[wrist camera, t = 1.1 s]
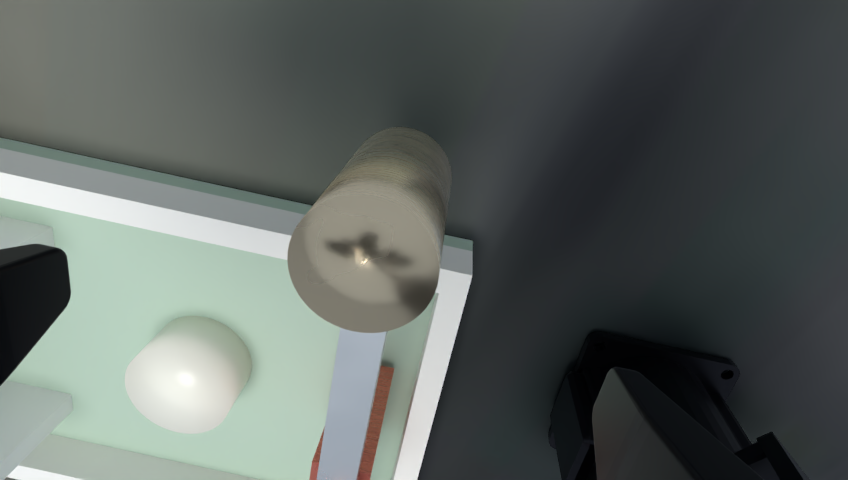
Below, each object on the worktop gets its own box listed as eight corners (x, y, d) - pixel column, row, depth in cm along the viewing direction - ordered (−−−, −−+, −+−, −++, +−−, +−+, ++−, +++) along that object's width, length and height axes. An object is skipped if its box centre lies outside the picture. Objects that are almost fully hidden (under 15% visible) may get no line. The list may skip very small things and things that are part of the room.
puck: (254, 327, 23) (231, 361, 21) (249, 404, 25) (227, 443, 22) (155, 306, 23) (122, 338, 21) (157, 384, 25) (126, 421, 22)
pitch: (472, 240, 21) (471, 327, 16) (402, 507, 28) (384, 636, 22) (-58, 125, 21) (-255, 168, 16) (-1, 419, 28) (-124, 525, 22)
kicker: (463, 118, 18) (454, 215, 10) (368, 531, 27) (321, 765, 19) (378, 99, 18) (294, 180, 10) (311, 518, 27) (239, 747, 19)
